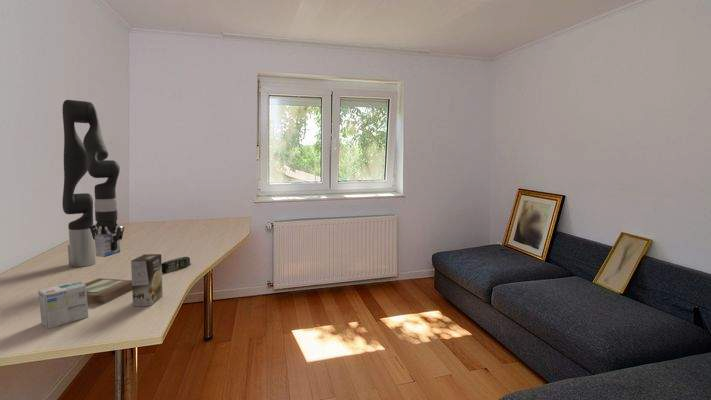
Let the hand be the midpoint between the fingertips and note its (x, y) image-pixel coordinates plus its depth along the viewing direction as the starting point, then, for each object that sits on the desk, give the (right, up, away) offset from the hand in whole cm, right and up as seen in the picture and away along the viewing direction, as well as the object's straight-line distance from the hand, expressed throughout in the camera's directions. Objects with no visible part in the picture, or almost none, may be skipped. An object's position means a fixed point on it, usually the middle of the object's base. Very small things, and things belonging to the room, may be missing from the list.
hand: (108, 249), depth 151 cm
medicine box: (0, -2, 0) cm, 2 cm away
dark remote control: (+21, -11, +16) cm, 29 cm away
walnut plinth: (+8, -14, -16) cm, 23 cm away
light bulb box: (+12, -17, -37) cm, 42 cm away
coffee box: (+29, -16, -21) cm, 39 cm away
